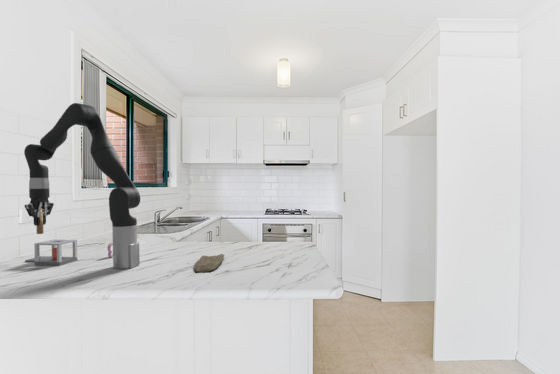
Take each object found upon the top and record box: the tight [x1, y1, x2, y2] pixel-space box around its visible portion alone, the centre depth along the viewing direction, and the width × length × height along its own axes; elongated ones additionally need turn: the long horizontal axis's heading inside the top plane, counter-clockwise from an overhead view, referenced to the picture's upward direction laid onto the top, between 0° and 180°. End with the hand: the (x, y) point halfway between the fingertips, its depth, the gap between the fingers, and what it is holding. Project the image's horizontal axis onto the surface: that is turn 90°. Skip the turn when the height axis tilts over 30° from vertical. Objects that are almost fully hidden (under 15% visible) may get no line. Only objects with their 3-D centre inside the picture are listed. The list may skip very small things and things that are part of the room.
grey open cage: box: [34, 239, 78, 267], centre depth 143 cm, size 12×10×9 cm
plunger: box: [51, 246, 57, 260], centre depth 143 cm, size 3×3×6 cm
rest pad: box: [24, 255, 52, 263], centre depth 149 cm, size 8×8×1 cm
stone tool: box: [193, 253, 225, 273], centre depth 135 cm, size 11×3×25 cm
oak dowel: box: [36, 208, 44, 235], centre depth 149 cm, size 2×2×12 cm
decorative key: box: [107, 242, 113, 258], centre depth 160 cm, size 7×1×20 cm
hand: (40, 224), depth 149 cm, fingers closed on oak dowel, 2 cm apart
